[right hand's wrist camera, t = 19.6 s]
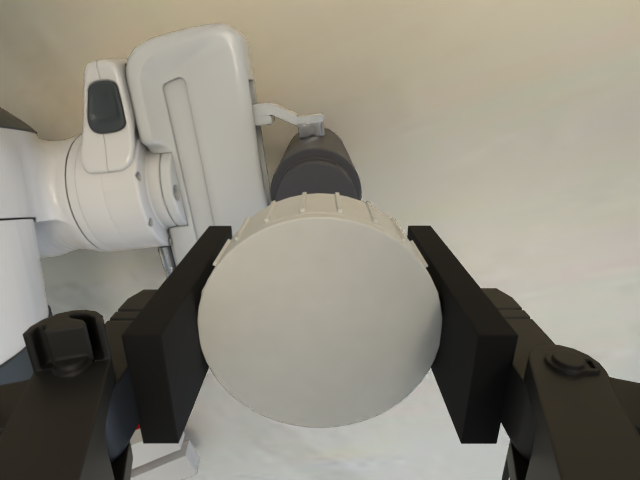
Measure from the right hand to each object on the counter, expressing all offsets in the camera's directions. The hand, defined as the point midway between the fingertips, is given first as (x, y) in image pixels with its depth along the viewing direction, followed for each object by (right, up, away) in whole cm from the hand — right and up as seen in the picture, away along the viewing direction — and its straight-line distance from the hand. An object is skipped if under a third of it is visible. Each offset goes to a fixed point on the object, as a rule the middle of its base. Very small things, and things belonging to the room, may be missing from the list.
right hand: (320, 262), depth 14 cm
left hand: (+1, +6, +15) cm, 17 cm away
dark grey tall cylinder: (0, +8, +22) cm, 23 cm away
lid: (0, -1, -4) cm, 4 cm away
